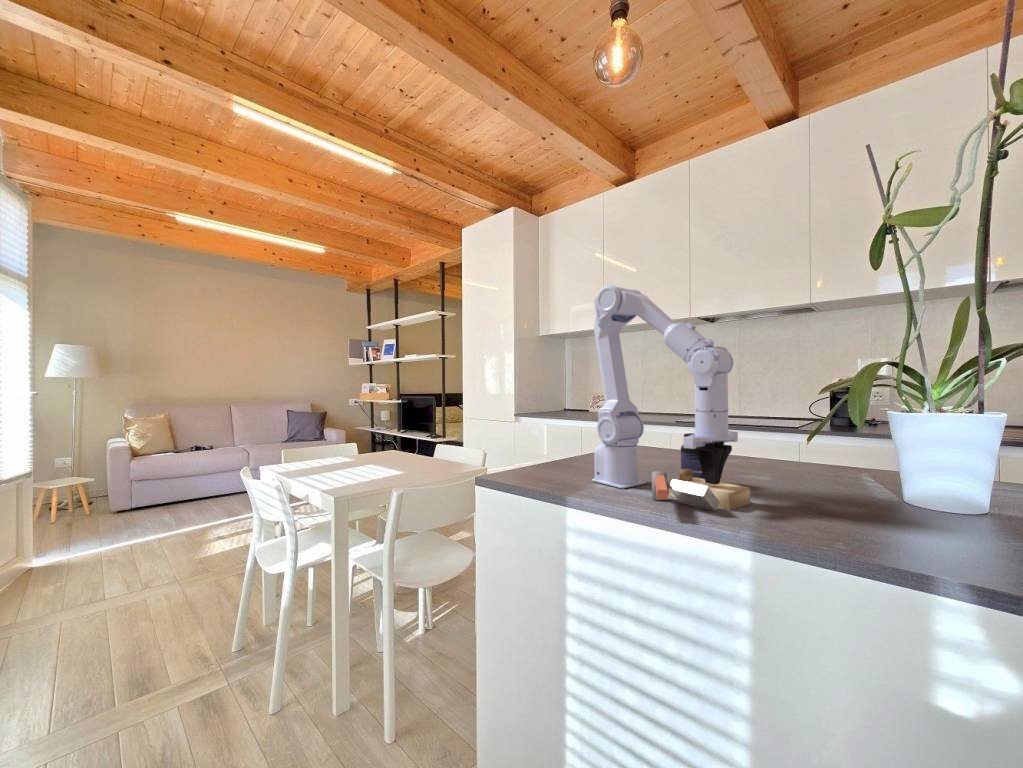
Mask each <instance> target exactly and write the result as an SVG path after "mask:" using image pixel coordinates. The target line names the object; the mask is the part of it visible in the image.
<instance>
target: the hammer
mask: <svg viewBox="0 0 1023 768" xmlns="http://www.w3.org/2000/svg"><path fill="white" fill-rule="evenodd" d="M668 496H669V489H668V473H667V472H666V471H660V470H659V471H658V470H653V471H652V472H651V498H652V499H653V500H656V501H666V500H667V501H668V500H669V499H668Z"/></svg>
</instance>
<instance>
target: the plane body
mask: <svg viewBox="0 0 1023 768" xmlns="http://www.w3.org/2000/svg"><path fill="white" fill-rule="evenodd" d="M678 473H679V478H675V479H674V480H679V481H684V482H689V483H693V484H698V485H703V486H708V488H709V489H710V490H711V491H712V493H713V494H714V495H715V496H716V498H717V499H718V500H719V501H720V503H719V505H718V508H717V509H720V510H721V509H722V510H725V511H732V510H735V509H738V508H741V507H745V506H748V505H750V504H751V487H748V486H742V485H737V484H732V483H727V482H722V481H720V483H719V484H716V485H715V484H710V483H706V482H705V479H702V478H696V477H692V470H691V469H681V468H680V469H679V472H678ZM672 480H673V479H671V480H668V487H669V486H670V484H671V482H672ZM668 496H669V497H673V498H676V497H675V496H674V494H673V493H672V492H671V491H670V490H669V489H668Z"/></svg>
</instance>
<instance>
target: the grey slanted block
mask: <svg viewBox="0 0 1023 768" xmlns="http://www.w3.org/2000/svg"><path fill="white" fill-rule="evenodd" d="M671 480H672V482H671V484H670V486H669V485H668V487H667V490H668V491H669V490H670V491H671V492H672V493H673V494H674V496H675V497H674V498H676V499H677V500H678V501H679V503H680V504H684V505H688V506H693V507H697V508H700V509H705V510H708V511H713V512H717V510H718V509H719V508H718V505H719V503H720V501H719V500H718V499H717V498H716V496H715V495H714V494H713V493H712V491H711V490H710V489H709V488H708V486H703V485H698V484H693V483H689V482H684V481H679V480H675V479H674V478H673V479H671Z"/></svg>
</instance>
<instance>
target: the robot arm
mask: <svg viewBox="0 0 1023 768" xmlns="http://www.w3.org/2000/svg"><path fill="white" fill-rule="evenodd" d="M593 302H594V303H593V304H594V309H595V319H594V325H593V329H594V330H593V331H594V338H595V345H596V346H595V347H596V351H597V352H596V353H597V358H598V359H597V360H598V364H599V365H598V366H599V372H600V373H599V374H600V378H601V379H600V381H601V386H602V392H603V398H604V404H603V405H602V406H601V407H600V409H598V411H597V417H598V420H597V421H598V422H597V425H596V433H597V436H598V437H599V439H600V441H602V442H600V443H599V444H598V445H597V446H596V448H595V449H594V454H593V455H594V456H593V457H594V462H593V463H594V478H592V479H591V481H592V482H595V483H599V484H602V485H603V484H604V485H606V486H607V485H608V486H611V487H615V488H619V489H627V488H631V487H636V486H640V485H645V484H647V481H645V480H641V479H639V478H638V475H639V473H638V471H639V468H638V444H639V439H641V437H642V436H643V435H644V429H645V427H644V422H643V420H642V418H641V416H640V414H639V410H638V407H637V406H636V405H635V404H634V403H633V402H632V401H631V399H630V396H629V395H630V394H629V388H628V381H627V374H626V369H625V368H626V367H625V364H624V363H625V362H624V357H623V350H622V344H621V336H620V332H621V331H622V330H623V328H624V327H626V326H627V325H628V324H629V323H630V322H632V321H633V320H634V319H635V318H636V317H638V318H639V319H641V320H642V321H644V322H645V323H647V324H648V325H650V326H651V327H652V328H653V329H654V330H656V331H657V332H659V333H660V334H661V335H663V336H664V337H663V339H664V341H663V342H664V345H665V346H666V347H667V348H669V349H670V350H671V351H672V352H673V353H674V354H676V355H677V356H678V357H679V358H680V359H682V360H683V361H684V362H685V363H686V364H687V368H688V369H687V370H688V371H689V372H690V374H691V375H692V377H693V384H694V433H695V434H692V435H690V436H687V437H684V436H683V440H682V441H683V444H684V448H690V449H692V450H693V451H694V453H695V455H696V456H697V458H698V460H699V463H700V465H701V468H702V472H703V475H704V479H705V482H706V483H710V484H715V485H716V484H719V483H720V482H721V479H722V475H723V471H724V467H725V464H726V463H727V459H728V458H729V455H731V453H732V451H733V446H732V444H731V445H730V444H725V443H732V442H733V443H737V442H738V441H739V435H738V434H739V433H738V431H733V430H732V431H731V430H730V431H729V385H728V383H729V381H728V379H729V377H728V376H729V375H728V374H729V373H731V371H732V369H733V366H734V359H733V355H732V354H731V353H730V352H729V351H728V349H727V348H725V347H722V346H714V343H715V342H714V340H713V339H711V338H706V337H705V336H704V335H702V334H701V333H699V332H698V331H697V330H696V328H697V326H696V325H695V324H693V323H689V322H682V321H681V322H677V323H676V322H675V321H674V319H672V318H671V317H670V316H669V315H668V314H667V313H665V311H663V310H662V309H661V308H660V307H659V306H657V304H655V303H654V302H653V301H652V300H651V299H650V298H649V297H648V296H647V295H645V294H644V293H642V292H641V291H639V290H638V289H633V288H632V289H630V288H624V287H619V286H615V285H613V284H608V285H605V286H603V287H602V288H601V289H600V290H599V292H598V294H597V295H596V297H595V299H594V300H593ZM704 442H705V443H704Z"/></svg>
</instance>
